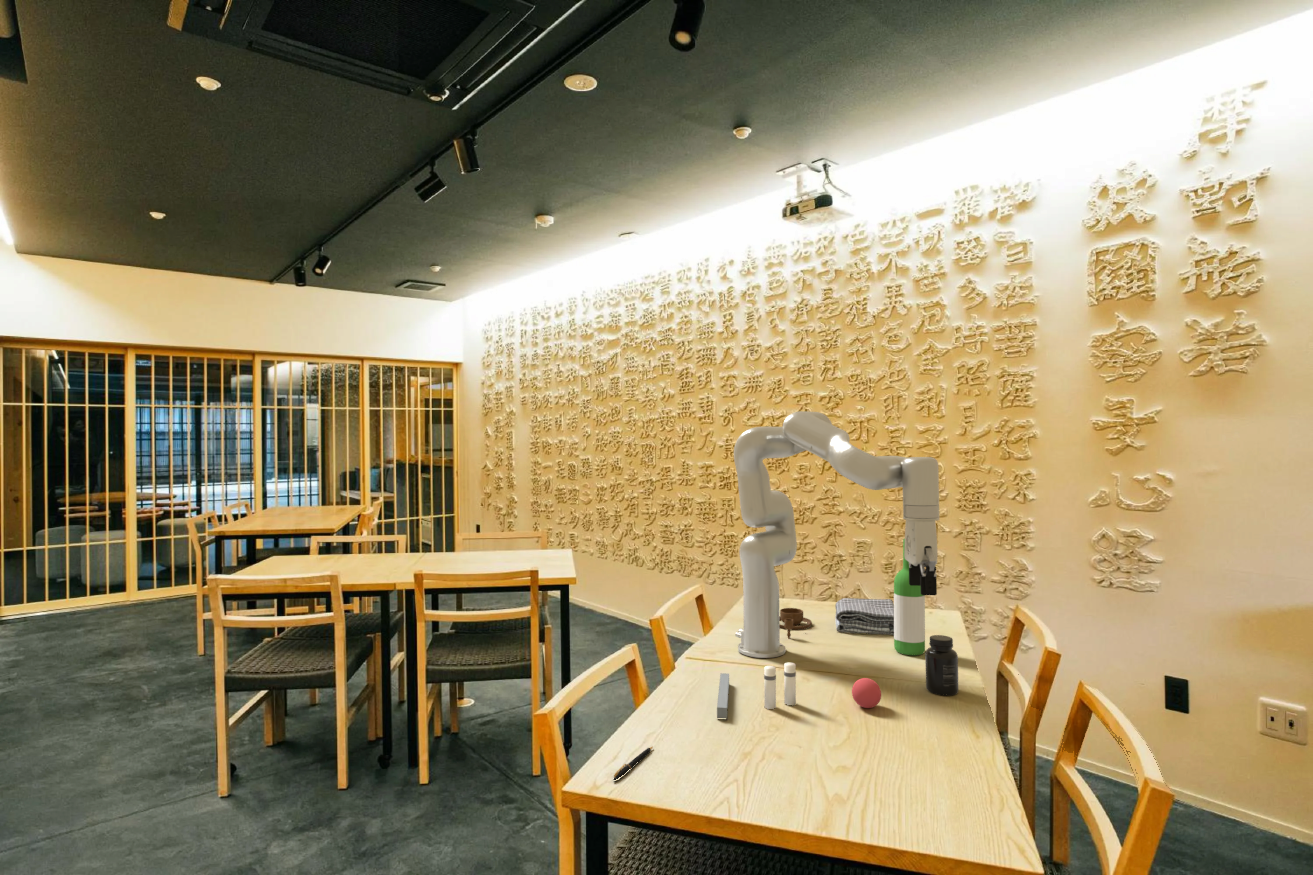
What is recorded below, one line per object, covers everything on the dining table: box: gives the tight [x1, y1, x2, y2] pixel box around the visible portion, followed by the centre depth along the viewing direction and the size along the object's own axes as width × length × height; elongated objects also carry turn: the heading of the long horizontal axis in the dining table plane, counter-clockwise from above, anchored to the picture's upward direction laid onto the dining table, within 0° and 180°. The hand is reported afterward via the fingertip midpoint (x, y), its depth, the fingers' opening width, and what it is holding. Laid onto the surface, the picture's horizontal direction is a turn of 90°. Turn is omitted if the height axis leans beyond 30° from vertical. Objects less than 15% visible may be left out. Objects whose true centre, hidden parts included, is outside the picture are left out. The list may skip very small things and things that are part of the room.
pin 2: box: [783, 662, 797, 706], centre depth 148 cm, size 2×2×8 cm
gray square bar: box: [716, 672, 730, 719], centre depth 149 cm, size 20×2×2 cm, turn 173°
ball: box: [851, 677, 882, 709], centre depth 146 cm, size 6×6×6 cm
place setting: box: [779, 607, 813, 640], centre depth 206 cm, size 18×20×6 cm
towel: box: [834, 597, 894, 636], centre depth 205 cm, size 15×18×8 cm
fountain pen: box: [612, 745, 654, 781], centre depth 121 cm, size 14×1×2 cm, turn 152°
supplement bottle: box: [924, 634, 959, 697], centre depth 154 cm, size 7×7×12 cm
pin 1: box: [763, 665, 777, 710], centre depth 146 cm, size 2×2×8 cm
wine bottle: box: [893, 538, 926, 656], centre depth 182 cm, size 8×8×30 cm
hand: (922, 589), depth 152 cm, fingers open, 9 cm apart
